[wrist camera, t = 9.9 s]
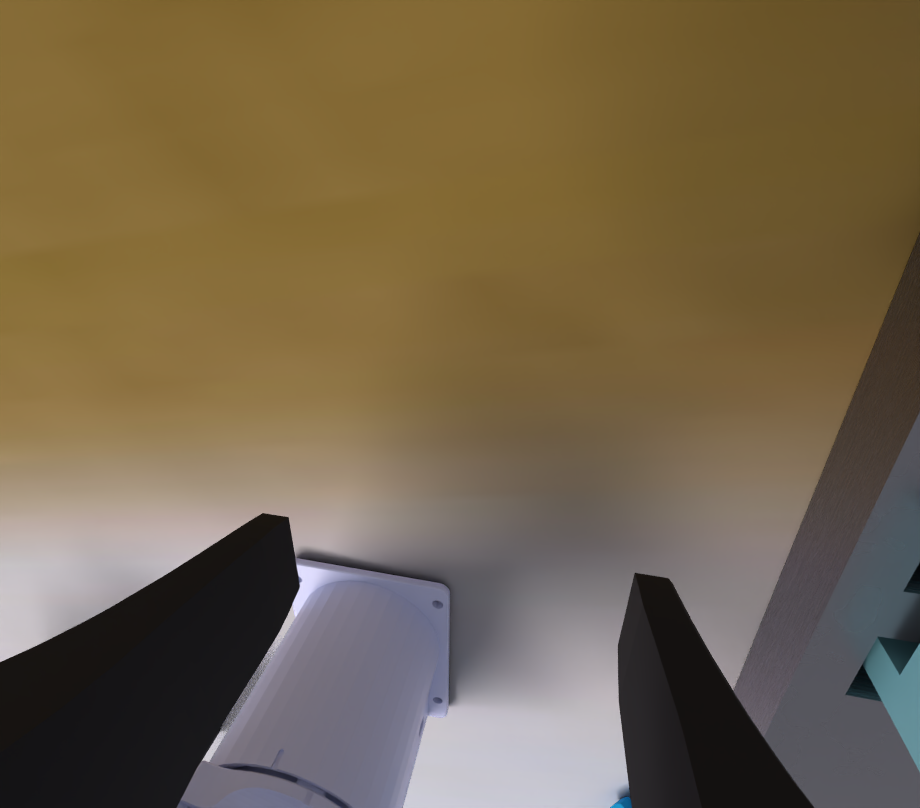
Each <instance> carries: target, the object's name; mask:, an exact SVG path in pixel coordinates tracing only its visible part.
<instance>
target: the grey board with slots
mask: <svg viewBox="0 0 920 808" xmlns="http://www.w3.org/2000/svg"><path fill="white" fill-rule="evenodd" d="M878 636H879V637H885V638H891V639H897V640H903V641H909V642H915V643H920V234H919V236H918V239H917V241H916V244H915V246H914V248H913V251H912V253H911V256H910V258H909V261H908V263H907V266H906V268H905V271H904V273H903V276H902V278H901V280H900V283H899V285H898V288H897V290H896V293H895V295H894V298H893V300H892V303H891V305H890V307H889V310H888V312H887V315H886V317H885V320H884V322H883V325H882V327H881V330H880V332H879V335H878V337H877V339H876V342H875V344H874V347H873V349H872V352H871V354H870V357H869V359H868V362H867V364H866V367H865V369H864V371H863V374H862V376H861V379H860V381H859V384H858V386H857V389H856V391H855V394H854V396H853V398H852V401H851V403H850V406H849V408H848V411H847V413H846V416H845V418H844V421H843V423H842V426H841V428H840V430H839V433H838V435H837V438H836V440H835V443H834V445H833V448H832V450H831V453H830V455H829V457H828V460H827V462H826V465H825V467H824V470H823V472H822V475H821V477H820V480H819V482H818V485H817V487H816V489H815V492H814V494H813V497H812V499H811V502H810V504H809V507H808V509H807V512H806V514H805V517H804V519H803V521H802V524H801V526H800V529H799V531H798V534H797V536H796V539H795V541H794V544H793V546H792V548H791V551H790V553H789V556H788V558H787V561H786V563H785V566H784V568H783V571H782V573H781V576H780V578H779V580H778V583H777V585H776V588H775V590H774V593H773V595H772V598H771V600H770V603H769V605H768V608H767V610H766V612H765V615H764V617H763V620H762V622H761V625H760V627H759V630H758V632H757V635H756V637H755V639H754V642H753V644H752V647H751V649H750V652H749V654H748V657H747V659H746V662H745V664H744V667H743V669H742V671H741V674H740V676H739V679H738V681H737V684H736V686H735V689H734V693H735V695H736V696H737V698H738V699H739V701H740V702H741V704H742V706H743V707H744V709H745V710H746V712H747V713H748V715H749V716H750V718H751V719H752V721H753V722H754V724H755V725H756V727H757V728H758V730H759V731H760V733H761V734H762V736H763V737H764V739H765V740H766V741H767V743H768V744H769V746H770V747H771V749H772V750H773V752H774V753H775V755H776V756H777V757H778V759H779V760H780V762H781V763H782V764H783V766H784V767H785V769H786V770H787V771H788V773H789V774H790V775H791V777H792V778H793V780H794V781H795V782H796V784H797V785H798V786H799V788H800V789H801V790H802V792H803V793H804V794H805V796H806V797H807V798H808V800H809V801H810V802H811V804H812V805H813V806H814V807H815V808H920V772H919V770H918V768H917V766H916V764H915V762H914V760H913V758H912V757H911V755H910V753H909V751H908V749H907V747H906V745H905V743H904V741H903V740H902V738H901V736H900V734H899V732H898V730H897V728H896V726H895V725H894V723H893V721H892V719H891V717H890V715H889V713H888V711H887V709H886V708H885V706H884V704H883V702H882V700H881V698H880V696H879V694H878V692H877V691H876V689H875V687H874V685H873V683H872V681H871V679H870V677H869V675H868V674H867V672H866V670H865V668H864V666H863V662H864V660H865V659H866V657H867V655H868V653H869V651H870V650H871V648H872V646H873V644H874V643H875V641H876V639H877V637H878Z"/></svg>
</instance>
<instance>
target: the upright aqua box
mask: <svg viewBox="0 0 920 808" xmlns="http://www.w3.org/2000/svg"><path fill="white" fill-rule="evenodd" d="M863 666H864V668H865V670H866V672H867V674H868V675H869V677H870V679H871V681H872V683H873V685H874V687H875V689H876V691H877V692H878V694H879V696H880V698H881V700H882V702H883V704H884V706H885V708H886V709H887V711H888V713H889V715H890V717H891V719H892V721H893V723H894V725H895V726H896V728H897V730H898V732H899V734H900V736H901V738H902V740H903V741H904V743H905V745H906V747H907V749H908V751H909V753H910V755H911V757H912V758H913V760H914V762H915V764H916V766H917V768H918V770H919V772H920V643H915V642H909V641H903V640H897V639H891V638H885V637H879V636H878V637H877V639H876V641H875V643H874V644H873V646H872V648H871V650H870V651H869V653H868V655H867V657H866V659H865V660H864V662H863Z"/></svg>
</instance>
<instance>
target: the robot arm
mask: <svg viewBox="0 0 920 808" xmlns="http://www.w3.org/2000/svg"><path fill="white" fill-rule="evenodd" d="M438 601H440V602H438ZM292 604H293V609H294V614H295V619H294V621H293V623H292V624H291V626H290V628H289V629H288V631H287V633H286V634H285V636H284V638H283V639H282V641H281V643H280V644H279V646H278V648H277V649H276V651H275V653H274V654H273V656H272V658H271V660H270V661H269V663H268V665H267V666H266V668H265V670H264V671H263V673H262V675H261V676H260V678H259V680H258V681H257V683H256V685H255V686H254V688H253V690H252V691H251V693H250V695H249V696H248V698H247V700H246V701H245V703H244V705H243V706H242V708H241V710H240V711H239V713H238V715H237V716H236V718H235V720H234V721H233V723H232V725H231V726H230V728H229V730H228V731H227V733H226V735H225V736H224V738H223V740H222V741H221V743H220V745H219V746H218V748H217V750H216V751H215V753H214V755H213V756H212V758H211V760H210V762H207V761H202V762H201V763H200V761H201V759H202V757H203V756H204V754H205V752H206V750H207V749H208V747H209V745H210V744H211V742H212V740H213V738H214V737H215V735H216V733H217V732H218V730H219V728H220V727H221V725H222V724H223V722H224V720H225V719H226V717H227V716H228V714H229V712H230V711H231V709H232V708H233V706H234V704H235V703H236V701H237V700H238V698H239V696H240V695H241V693H242V692H243V690H244V688H245V687H246V685H247V684H248V682H249V680H250V679H251V677H252V676H253V674H254V672H255V671H256V669H257V668H258V666H259V664H260V663H261V661H262V659H263V658H264V656H265V655H266V653H267V651H268V650H269V648H270V646H271V645H272V643H273V642H274V640H275V638H276V636H277V635H278V633H279V631H280V629H281V627H282V625H283V623H284V621H285V619H286V617H287V615H288V613H289V611H290V608H291V606H292ZM449 632H450V591H449V589H448V588H447V586H445V585H444V584H441V583H436V582H431V581H425V580H419V579H413V578H408V577H402V576H396V575H390V574H385V573H379V572H373V571H368V570H362V569H356V568H350V567H345V566H339V565H333V564H327V563H322V562H316V561H310V560H305V559H299V558H295V553H294V547H293V541H292V535H291V529H290V523H289V517H283V516H277V515H271V514H264V513H262V514H261V515H259V516H257V517H256V518H254V519H252V520H251V521H249V522H248V523H246V524H244V525H243V526H241V527H240V528H238V529H237V530H235V531H233V532H232V533H230V534H229V535H227V536H226V537H224V538H223V539H221V540H220V541H218V542H217V543H215V544H213V545H212V546H210V547H209V548H207V549H206V550H204V551H203V552H201V553H200V554H198V555H196V556H195V557H193V558H192V559H190V560H189V561H187V562H185V563H184V564H182V565H181V566H179V567H178V568H176V569H174V570H173V571H171V572H170V573H168V574H166V575H165V576H163V577H162V578H160V579H158V580H156V581H155V582H153V583H151V584H150V585H148V586H146V587H145V588H143V589H141V590H139V591H138V592H136V593H134V594H133V595H131V596H129V597H128V598H126V599H124V600H123V601H121V602H119V603H117V604H116V605H114V606H112V607H111V608H109V609H107V610H105V611H103V612H102V613H100V614H98V615H96V616H94V617H92V618H90V619H89V620H87V621H85V622H83V623H81V624H79V625H77V626H75V627H73V628H71V629H69V630H67V631H65V632H63V633H61V634H59V635H57V636H55V637H53V638H52V639H50V640H48V641H46V642H43V643H41V644H39V645H37V646H35V647H33V648H31V649H29V650H26V651H24V652H22V653H20V654H18V655H15V656H13V657H11V658H9V659H6V660H4V661H2V662H0V808H403V805H404V801H405V797H406V794H407V790H408V786H409V783H410V779H411V775H412V771H413V768H414V764H415V760H416V757H417V753H418V749H419V745H420V742H421V738H422V734H423V730H424V727H425V723H426V719H427V716H428V715H429V716H433V717H438V718H443V717H445V716H446V715H447V712H448V708H449ZM618 684H619V706H620V715H621V723H622V732H623V740H624V748H625V756H626V764H627V773H628V781H629V789H630V797H631V805H632V808H815V807H814V806H813V805H812V804H811V802H810V801H809V800H808V798H807V797H806V796H805V794H804V793H803V792H802V790H801V789H800V788H799V786H798V785H797V784H796V782H795V781H794V780H793V778H792V777H791V775H790V774H789V773H788V771H787V770H786V769H785V767H784V766H783V764H782V763H781V762H780V760H779V759H778V757H777V756H776V755H775V753H774V752H773V750H772V749H771V747H770V746H769V744H768V743H767V741H766V740H765V739H764V737H763V736H762V734H761V733H760V731H759V730H758V728H757V727H756V725H755V724H754V722H753V721H752V719H751V718H750V716H749V715H748V713H747V712H746V710H745V709H744V707H743V706H742V704H741V702H740V701H739V699H738V698H737V696H736V695H735V693H734V691H733V690H732V688H731V686H730V685H729V683H728V682H727V680H726V678H725V677H724V675H723V673H722V672H721V670H720V669H719V667H718V665H717V664H716V662H715V660H714V659H713V657H712V655H711V654H710V652H709V650H708V648H707V647H706V645H705V643H704V641H703V640H702V638H701V636H700V634H699V632H698V631H697V629H696V627H695V625H694V624H693V622H692V620H691V618H690V616H689V614H688V612H687V610H686V609H685V607H684V605H683V603H682V601H681V599H680V597H679V595H678V593H677V591H676V589H675V587H674V585H673V583H672V582H671V581H670V580H669V579H668V578H663V577H657V576H651V575H645V574H638V573H635V574H634V579H633V583H632V587H631V592H630V596H629V600H628V605H627V609H626V613H625V618H624V622H623V626H622V630H621V635H620V639H619V643H618ZM199 763H200V764H199ZM198 765H199V766H198Z"/></svg>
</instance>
